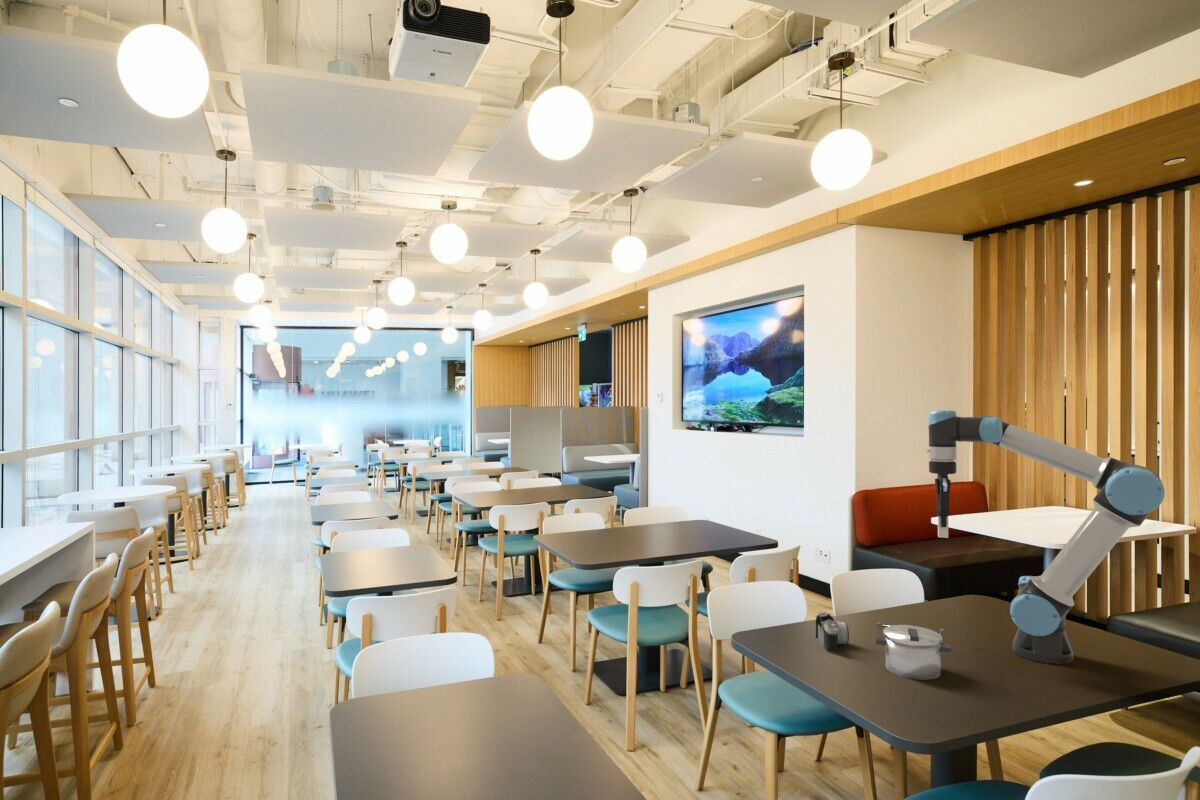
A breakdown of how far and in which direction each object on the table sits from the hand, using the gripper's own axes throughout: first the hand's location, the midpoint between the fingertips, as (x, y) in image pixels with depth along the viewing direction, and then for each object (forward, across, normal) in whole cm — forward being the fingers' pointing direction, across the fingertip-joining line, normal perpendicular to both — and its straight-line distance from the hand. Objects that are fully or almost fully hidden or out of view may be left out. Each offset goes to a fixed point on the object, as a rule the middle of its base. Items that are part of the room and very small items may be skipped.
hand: (943, 537), depth 206 cm
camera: (+35, +9, -32) cm, 48 cm away
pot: (+34, +22, -10) cm, 42 cm away
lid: (+25, +14, -10) cm, 31 cm away
